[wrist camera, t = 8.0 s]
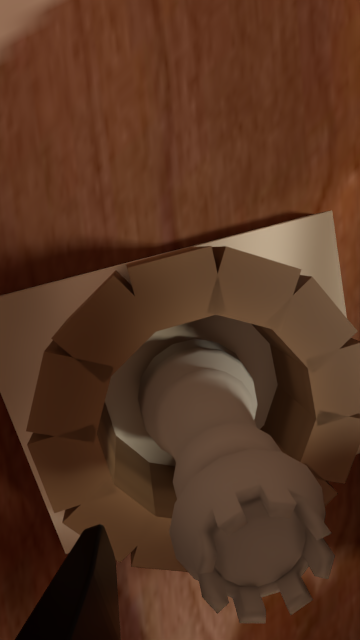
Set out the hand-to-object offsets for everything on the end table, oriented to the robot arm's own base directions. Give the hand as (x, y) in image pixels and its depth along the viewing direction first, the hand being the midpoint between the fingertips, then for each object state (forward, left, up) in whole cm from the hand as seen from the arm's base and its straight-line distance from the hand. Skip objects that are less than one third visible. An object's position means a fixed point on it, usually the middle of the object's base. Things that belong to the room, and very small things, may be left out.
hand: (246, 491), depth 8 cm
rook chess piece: (0, 0, -6) cm, 6 cm away
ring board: (0, 0, -7) cm, 7 cm away
